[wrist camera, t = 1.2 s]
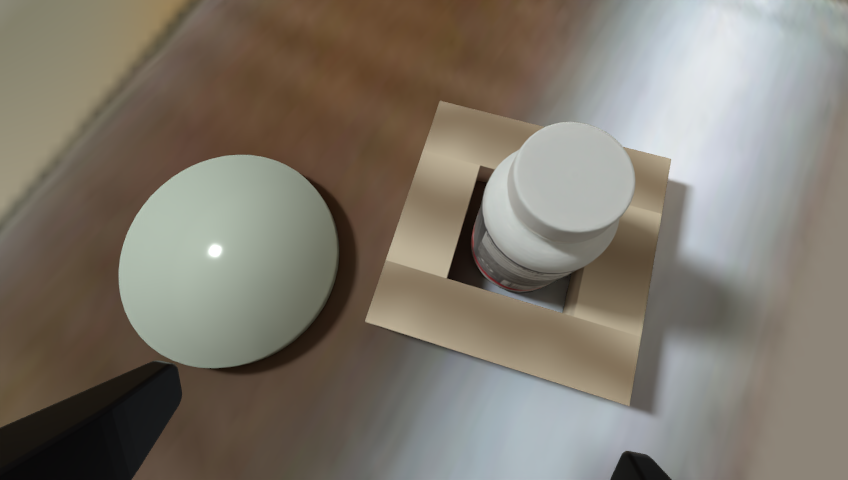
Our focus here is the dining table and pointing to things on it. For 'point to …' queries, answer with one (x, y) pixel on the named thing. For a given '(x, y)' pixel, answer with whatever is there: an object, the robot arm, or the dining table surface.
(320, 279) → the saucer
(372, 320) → the socket block
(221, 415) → the dining table surface
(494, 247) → the pill bottle
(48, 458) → the robot arm
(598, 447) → the dining table surface
